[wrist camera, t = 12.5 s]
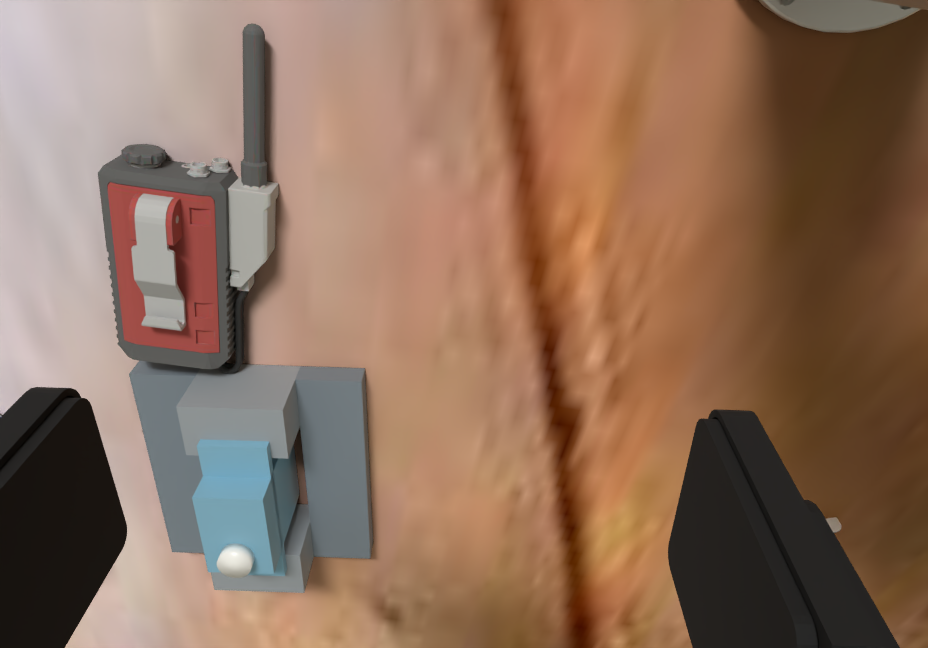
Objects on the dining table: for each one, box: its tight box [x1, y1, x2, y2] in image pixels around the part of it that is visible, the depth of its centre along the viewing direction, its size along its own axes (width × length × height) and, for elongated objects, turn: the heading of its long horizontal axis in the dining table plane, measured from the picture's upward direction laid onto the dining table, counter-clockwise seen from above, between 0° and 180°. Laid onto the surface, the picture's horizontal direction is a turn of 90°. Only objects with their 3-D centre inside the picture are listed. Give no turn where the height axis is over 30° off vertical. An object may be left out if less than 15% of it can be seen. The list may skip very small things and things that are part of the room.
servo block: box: [192, 439, 300, 578], centre depth 44 cm, size 4×10×8 cm, turn 179°
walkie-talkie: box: [98, 24, 279, 374], centre depth 37 cm, size 9×4×20 cm
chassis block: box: [129, 361, 373, 593], centre depth 45 cm, size 14×15×5 cm
